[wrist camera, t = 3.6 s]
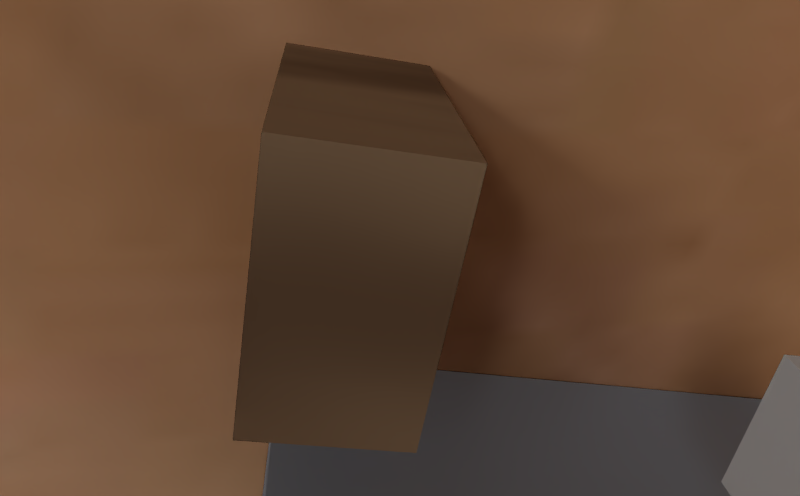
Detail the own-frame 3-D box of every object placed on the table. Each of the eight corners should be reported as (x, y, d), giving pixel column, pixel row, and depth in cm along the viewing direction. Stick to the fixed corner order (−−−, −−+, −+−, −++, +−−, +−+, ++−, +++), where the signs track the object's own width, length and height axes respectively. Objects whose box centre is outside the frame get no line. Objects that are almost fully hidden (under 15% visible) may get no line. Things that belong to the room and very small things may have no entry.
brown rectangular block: (286, 42, 17) (261, 131, 10) (429, 65, 17) (487, 163, 11) (263, 262, 19) (232, 440, 13) (388, 276, 20) (415, 453, 13)
